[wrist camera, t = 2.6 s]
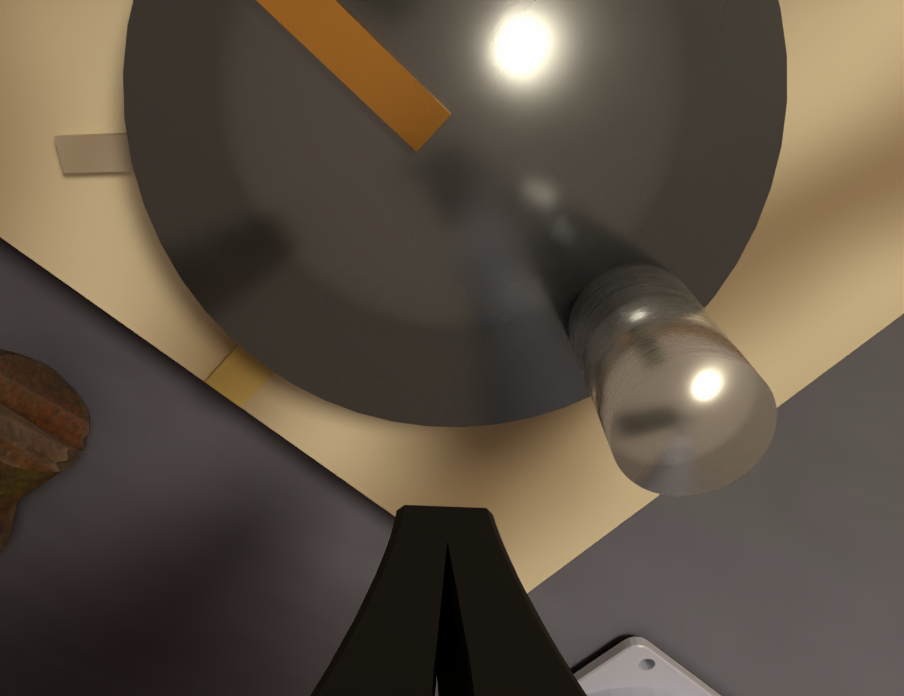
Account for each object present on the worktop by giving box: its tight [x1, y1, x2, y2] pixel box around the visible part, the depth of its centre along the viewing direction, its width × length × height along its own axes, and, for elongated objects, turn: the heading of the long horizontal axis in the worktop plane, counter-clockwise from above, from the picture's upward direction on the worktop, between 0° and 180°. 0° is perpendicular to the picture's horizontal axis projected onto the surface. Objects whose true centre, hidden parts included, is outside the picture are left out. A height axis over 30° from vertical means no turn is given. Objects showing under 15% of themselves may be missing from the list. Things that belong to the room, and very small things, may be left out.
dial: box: [123, 0, 787, 496], centre depth 12 cm, size 12×12×5 cm
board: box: [0, 0, 904, 593], centre depth 14 cm, size 20×16×2 cm
